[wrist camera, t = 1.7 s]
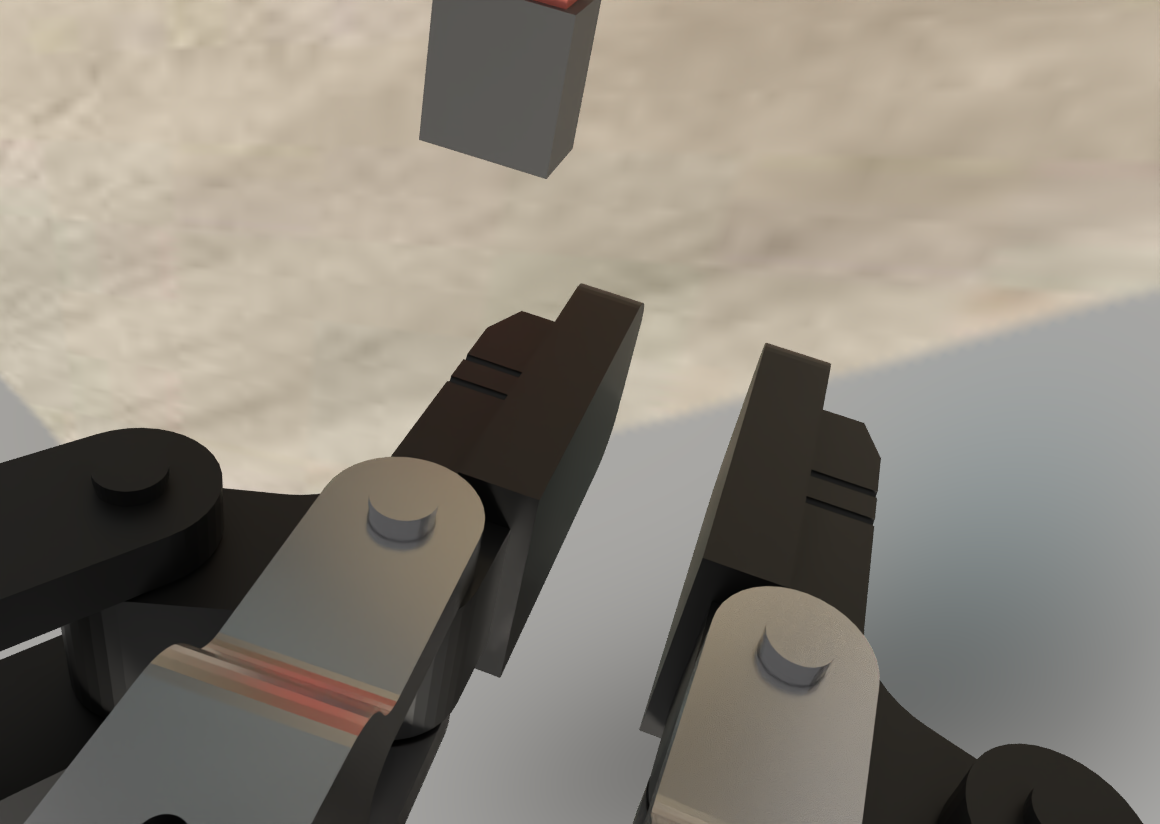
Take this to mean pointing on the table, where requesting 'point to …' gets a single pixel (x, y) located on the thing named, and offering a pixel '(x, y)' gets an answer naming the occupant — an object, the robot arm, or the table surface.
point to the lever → (507, 79)
